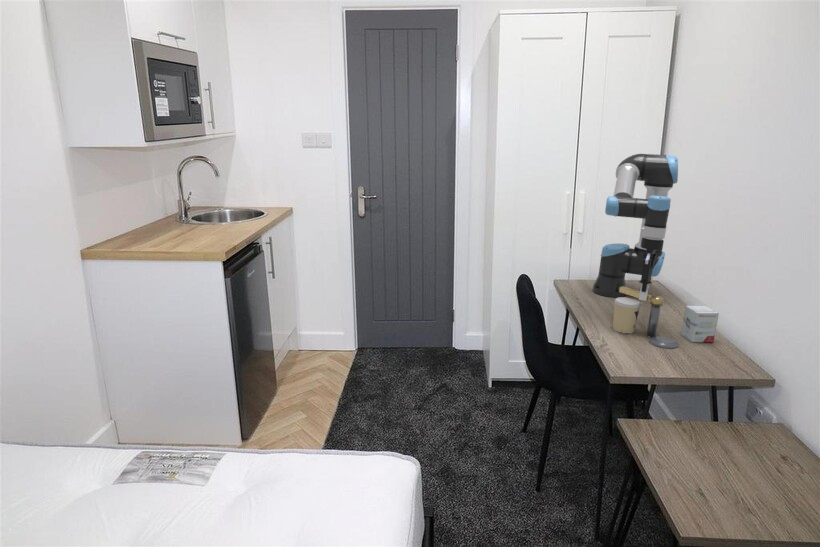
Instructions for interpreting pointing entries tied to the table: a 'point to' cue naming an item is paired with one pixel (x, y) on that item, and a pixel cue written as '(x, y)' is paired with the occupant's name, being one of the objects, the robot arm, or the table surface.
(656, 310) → the post
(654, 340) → the disc
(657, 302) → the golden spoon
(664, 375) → the table surface
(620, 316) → the coffee cup
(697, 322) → the ink box
